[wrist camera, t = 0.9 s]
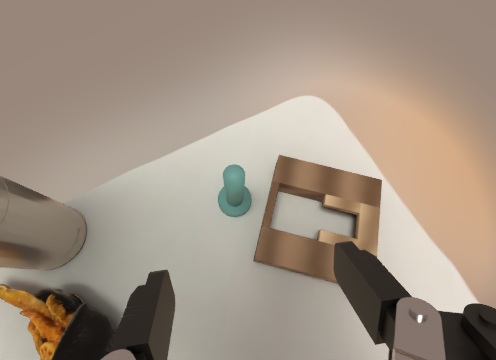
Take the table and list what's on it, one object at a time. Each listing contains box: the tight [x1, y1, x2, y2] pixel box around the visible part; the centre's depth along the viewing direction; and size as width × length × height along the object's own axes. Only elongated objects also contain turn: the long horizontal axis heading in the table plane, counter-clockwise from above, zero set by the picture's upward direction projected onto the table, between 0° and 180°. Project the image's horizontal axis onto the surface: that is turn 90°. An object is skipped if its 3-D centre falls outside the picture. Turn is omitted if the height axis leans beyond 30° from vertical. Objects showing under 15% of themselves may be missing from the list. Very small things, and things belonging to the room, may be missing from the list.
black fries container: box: [0, 284, 116, 360], centre depth 30 cm, size 9×11×18 cm
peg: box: [218, 165, 251, 217], centre depth 36 cm, size 5×5×11 cm
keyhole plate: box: [253, 155, 382, 283], centre depth 39 cm, size 16×16×4 cm
